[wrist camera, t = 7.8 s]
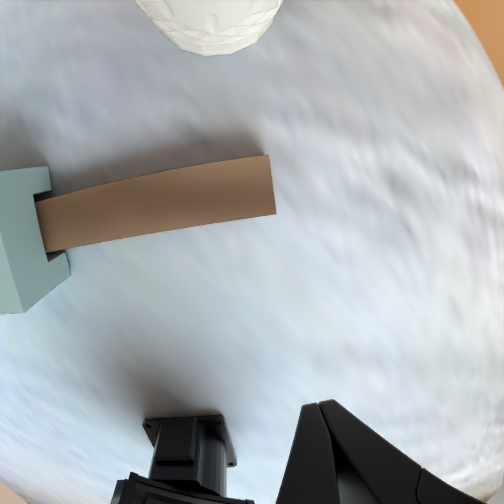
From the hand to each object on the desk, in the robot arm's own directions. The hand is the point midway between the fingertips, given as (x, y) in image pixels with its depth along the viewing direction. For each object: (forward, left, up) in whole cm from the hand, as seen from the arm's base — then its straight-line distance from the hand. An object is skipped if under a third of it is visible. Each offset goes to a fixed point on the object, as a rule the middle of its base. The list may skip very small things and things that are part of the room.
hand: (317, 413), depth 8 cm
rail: (+5, +11, -12) cm, 17 cm away
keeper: (+5, +16, -12) cm, 21 cm away
